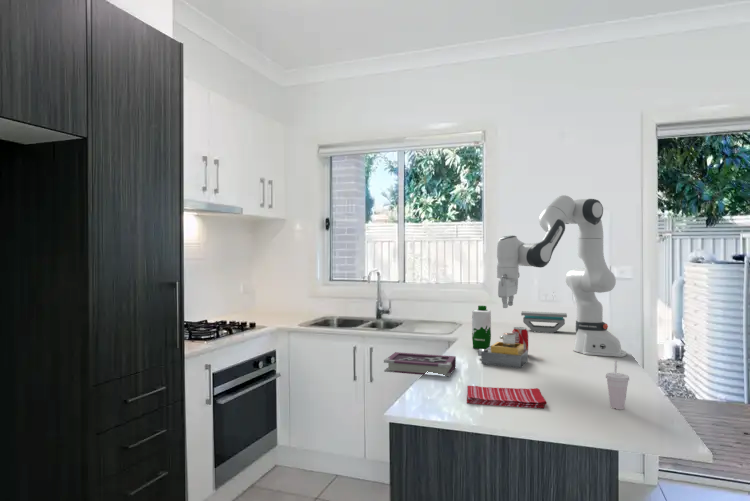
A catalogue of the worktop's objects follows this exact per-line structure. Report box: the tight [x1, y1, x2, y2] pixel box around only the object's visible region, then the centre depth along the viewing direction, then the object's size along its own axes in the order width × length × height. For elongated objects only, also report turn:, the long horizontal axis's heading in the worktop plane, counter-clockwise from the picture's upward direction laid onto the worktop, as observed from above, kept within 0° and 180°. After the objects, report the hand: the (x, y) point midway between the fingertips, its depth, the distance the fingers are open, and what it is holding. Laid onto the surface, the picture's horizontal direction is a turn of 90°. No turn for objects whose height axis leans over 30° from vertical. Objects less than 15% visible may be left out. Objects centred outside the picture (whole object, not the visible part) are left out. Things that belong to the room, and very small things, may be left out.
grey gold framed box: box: [477, 341, 529, 369], centre depth 205 cm, size 20×14×8 cm
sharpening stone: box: [520, 310, 568, 333], centre depth 286 cm, size 25×8×11 cm, turn 70°
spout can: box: [499, 332, 515, 348], centre depth 204 cm, size 6×5×7 cm
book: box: [383, 351, 457, 377], centre depth 191 cm, size 25×16×5 cm, turn 72°
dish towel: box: [466, 385, 548, 410], centre depth 154 cm, size 17×24×3 cm
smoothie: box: [605, 360, 630, 410], centre depth 145 cm, size 6×6×14 cm
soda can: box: [511, 326, 529, 351], centre depth 221 cm, size 7×7×12 cm
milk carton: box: [471, 305, 492, 350], centre depth 237 cm, size 9×9×20 cm
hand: (507, 306), depth 205 cm, fingers open, 8 cm apart
